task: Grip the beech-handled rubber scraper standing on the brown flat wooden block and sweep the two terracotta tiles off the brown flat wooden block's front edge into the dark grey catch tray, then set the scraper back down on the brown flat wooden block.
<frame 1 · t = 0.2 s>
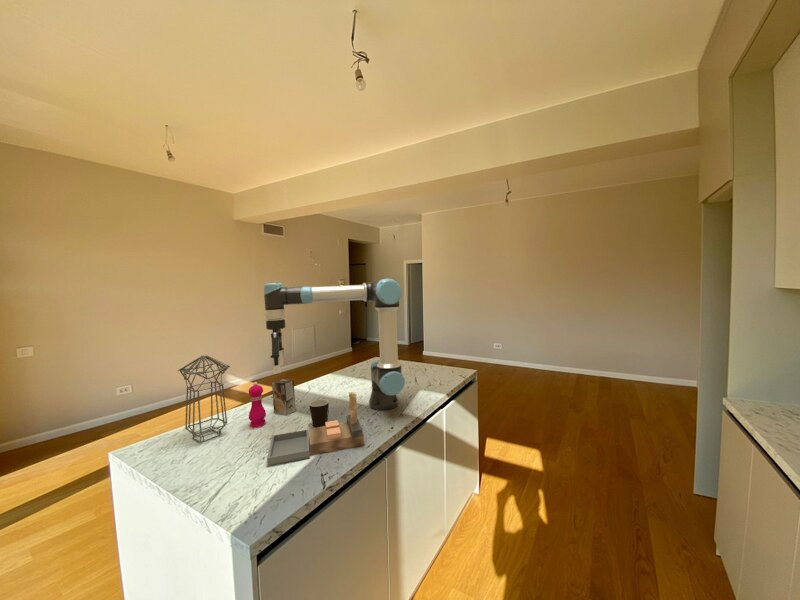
hand: (278, 369, 130), 28 cm above the worktop, fingers open, 13 cm apart
scraper: (354, 428, 124), point 4 cm above the worktop, touching brown flat wooden block
geometric lantern: (209, 435, 132), on the worktop
tile b: (333, 436, 118), point 4 cm above the worktop, touching brown flat wooden block
pepper mill: (258, 425, 141), on the worktop
catch tray: (290, 450, 117), on the worktop
tile a: (332, 428, 125), point 4 cm above the worktop, touching brown flat wooden block
coffee box: (284, 412, 154), on the worktop
brown flat wooden block: (336, 441, 122), on the worktop
coffee mug: (321, 423, 140), on the worktop
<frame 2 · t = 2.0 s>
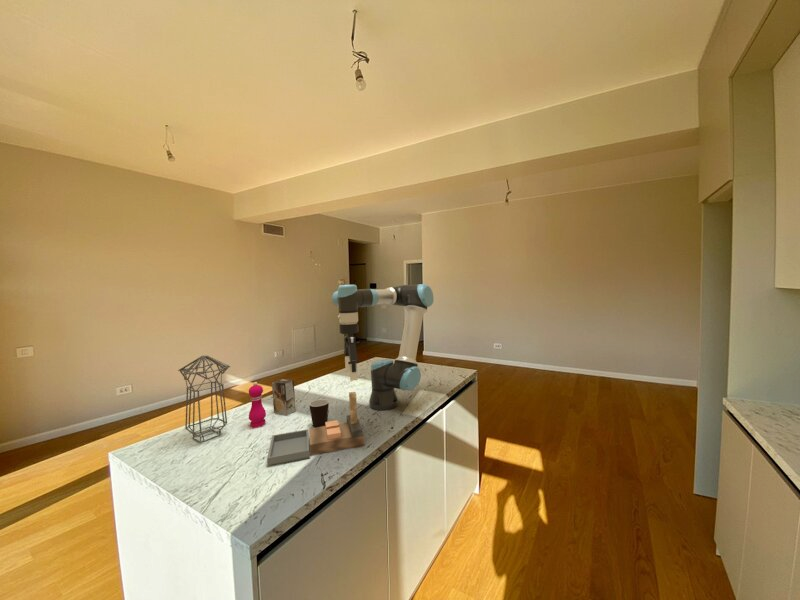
hand: (351, 375, 123), 26 cm above the worktop, fingers open, 13 cm apart
nothing on the worktop moved.
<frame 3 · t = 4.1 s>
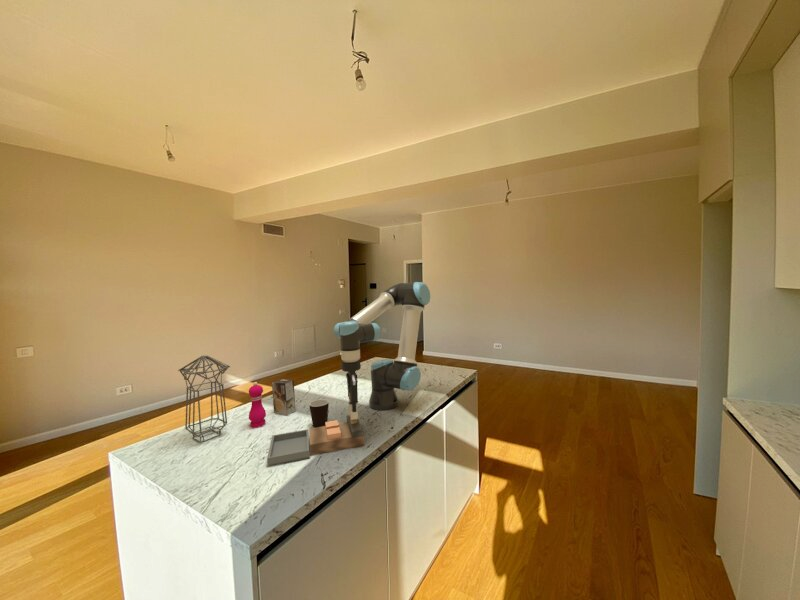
hand: (353, 417, 124), 9 cm above the worktop, fingers closed on scraper, 2 cm apart
scraper: (354, 428, 124), point 4 cm above the worktop, touching brown flat wooden block, gripper
everything else where it was.
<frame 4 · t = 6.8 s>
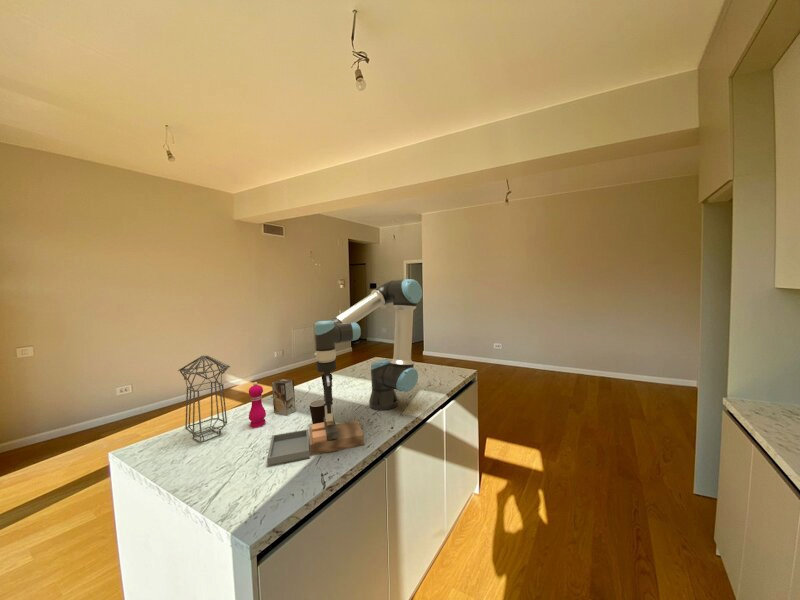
hand: (329, 419, 121), 9 cm above the worktop, fingers closed on scraper, 2 cm apart
scraper: (330, 429, 121), point 5 cm above the worktop, touching gripper
tile b: (319, 438, 116), point 4 cm above the worktop, touching brown flat wooden block
tile a: (318, 430, 123), point 4 cm above the worktop, touching brown flat wooden block
everything else where it was.
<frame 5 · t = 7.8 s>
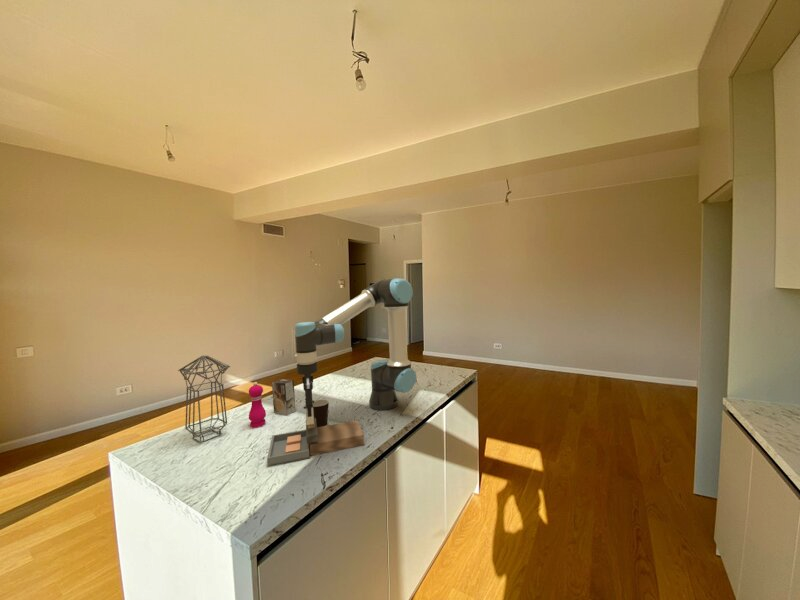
hand: (309, 422, 119), 10 cm above the worktop, fingers closed on scraper, 2 cm apart
scraper: (311, 433, 119), point 5 cm above the worktop, touching gripper
tile b: (293, 447, 113), point 3 cm above the worktop, tilted 180°, touching catch tray
tile a: (294, 438, 120), point 3 cm above the worktop, tilted 180°, touching catch tray
everything else where it was.
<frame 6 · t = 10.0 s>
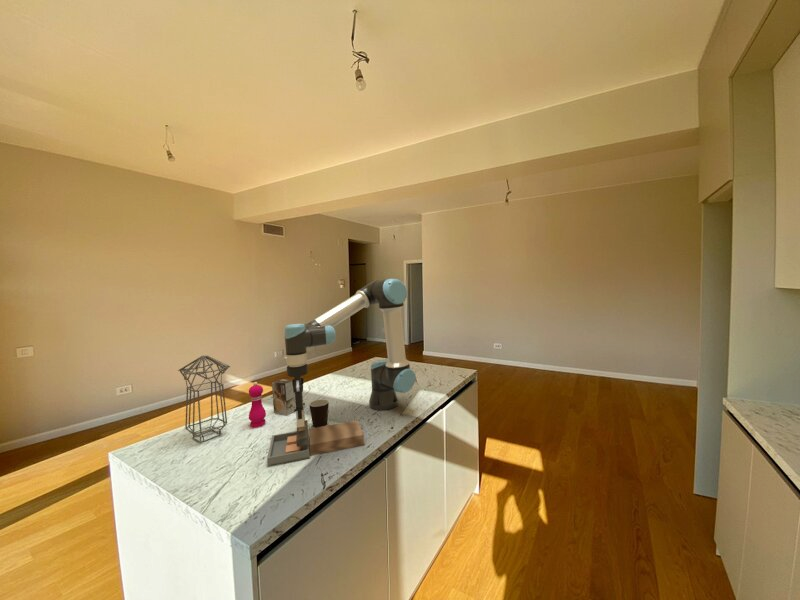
hand: (300, 424, 118), 9 cm above the worktop, fingers closed on scraper, 2 cm apart
scraper: (302, 435, 118), point 5 cm above the worktop, touching gripper
everything else where it was.
when the fingers open (9 cm above the worktop, at t = 11.8 s): scraper stays where it is, resting on brown flat wooden block.
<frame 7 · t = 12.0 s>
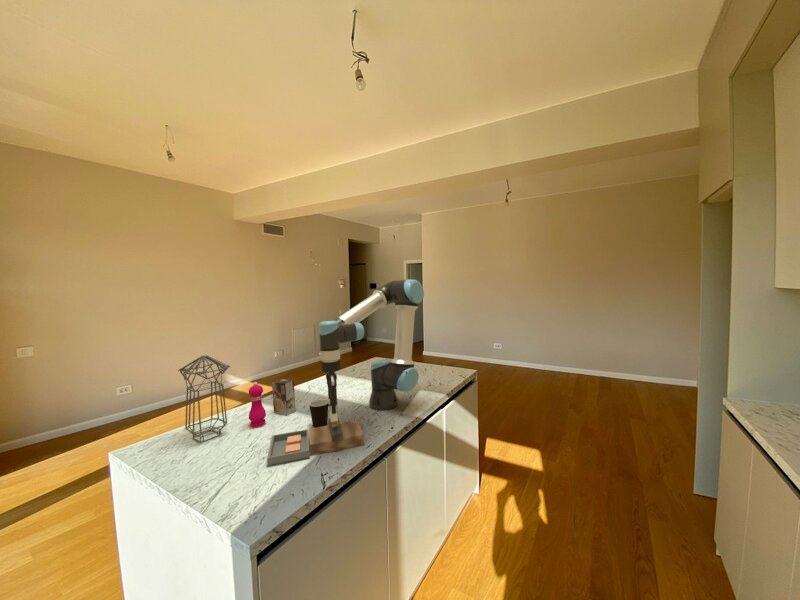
hand: (333, 418, 121), 10 cm above the worktop, fingers open, 5 cm apart
scraper: (335, 431, 122), point 4 cm above the worktop, touching brown flat wooden block
everything else where it was.
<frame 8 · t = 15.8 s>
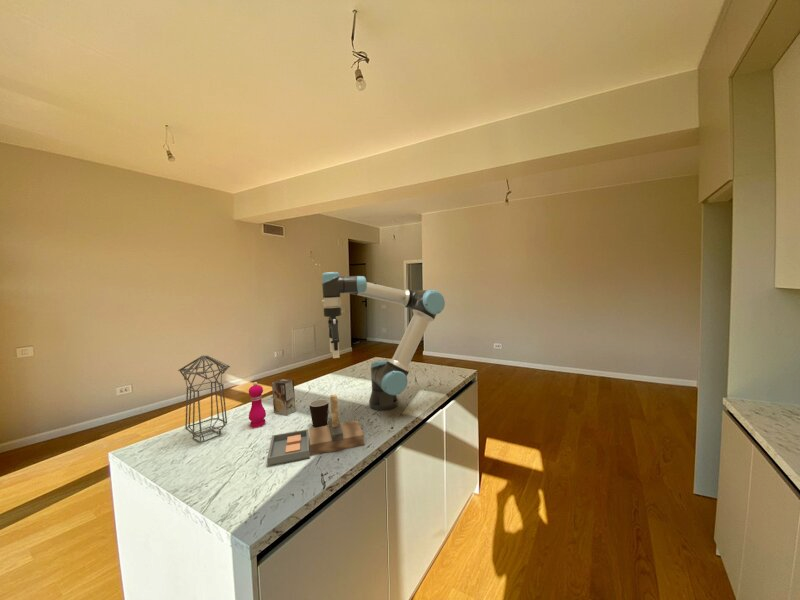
hand: (334, 354, 136), 32 cm above the worktop, fingers open, 13 cm apart
nothing on the worktop moved.
at the end: tile a inside the target area (3.9 cm from its centre), point 2.6 cm above the worktop; tile b inside the target area (4.0 cm from its centre), point 2.6 cm above the worktop; the gripper is holding nothing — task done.
